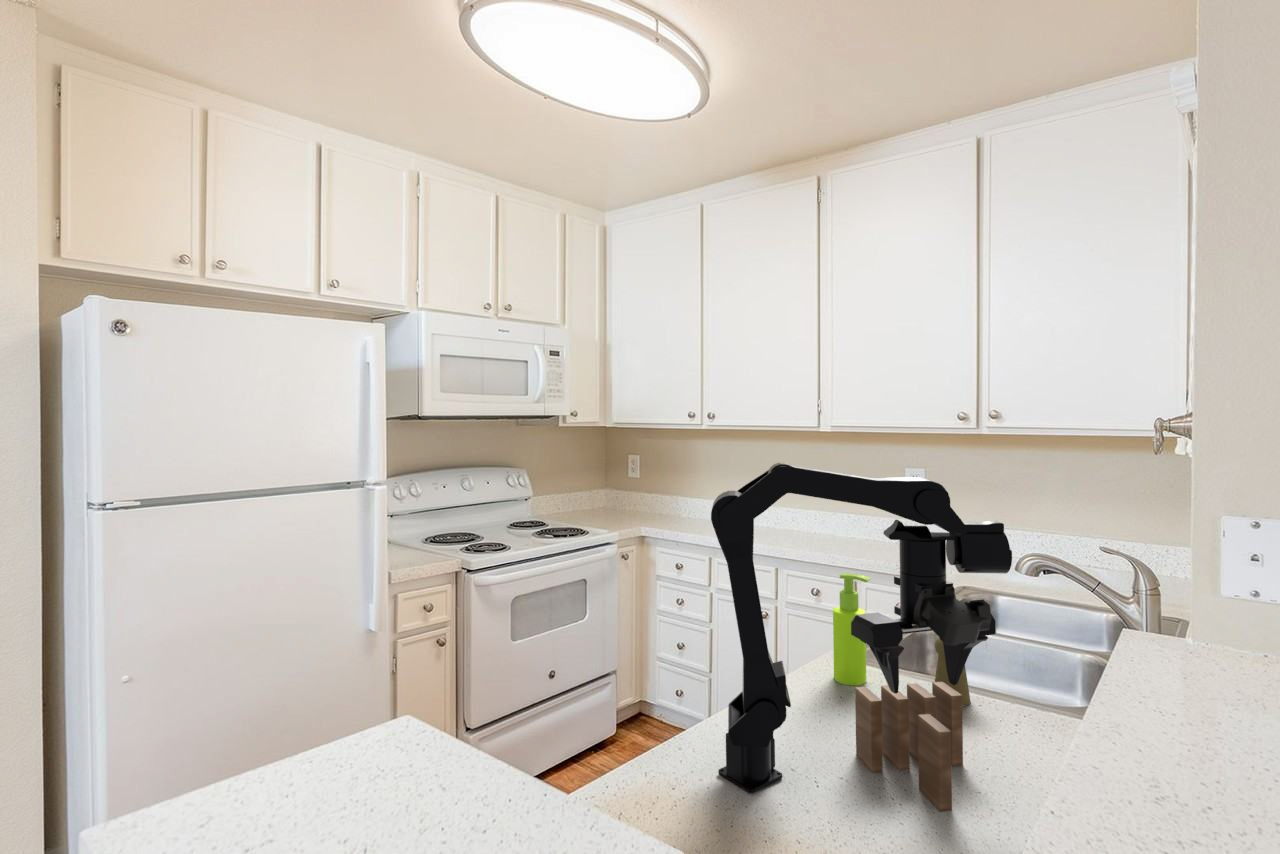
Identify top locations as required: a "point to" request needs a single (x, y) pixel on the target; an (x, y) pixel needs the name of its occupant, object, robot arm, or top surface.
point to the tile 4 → (950, 717)
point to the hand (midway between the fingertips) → (924, 688)
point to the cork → (943, 677)
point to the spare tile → (935, 762)
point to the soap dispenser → (848, 636)
